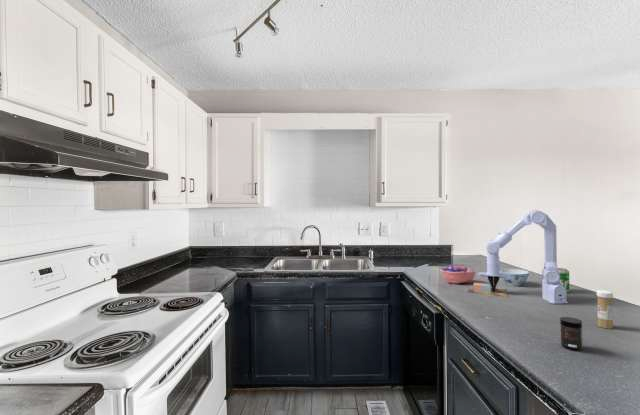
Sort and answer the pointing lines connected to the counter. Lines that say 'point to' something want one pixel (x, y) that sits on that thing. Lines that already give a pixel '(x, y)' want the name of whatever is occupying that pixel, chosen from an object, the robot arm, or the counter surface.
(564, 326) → the supplement container
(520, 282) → the chinaware
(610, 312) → the sprinkles bottle
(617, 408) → the counter surface
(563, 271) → the soda can
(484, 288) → the grey-blue block
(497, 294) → the maple chute
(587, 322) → the counter surface
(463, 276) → the cell model
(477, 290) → the terracotta block
